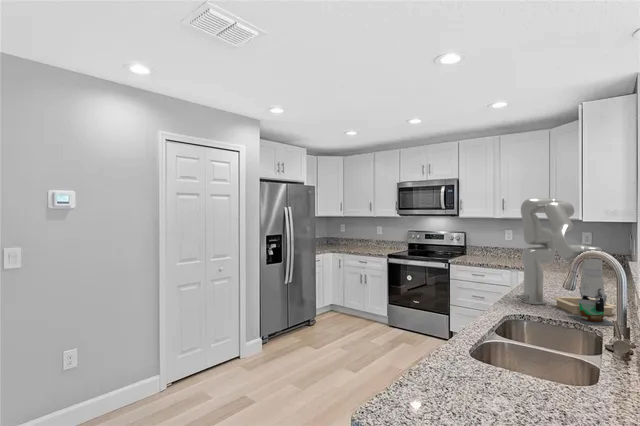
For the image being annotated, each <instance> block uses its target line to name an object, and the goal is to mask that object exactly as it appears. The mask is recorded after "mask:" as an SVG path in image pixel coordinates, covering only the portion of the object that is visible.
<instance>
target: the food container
mask: <svg viewBox="0 0 640 426" xmlns="http://www.w3.org/2000/svg"><path fill="white" fill-rule="evenodd" d="M578 303H579V307H580V315H579V316H581V320H585V321H590V322H603V319H604V316H605V315H604V312H597V311H596V303H597V302H596V300H592V299H589V300H584V299H579V300H578ZM606 303H607V302H606V301H605V303H604V305H606Z"/></svg>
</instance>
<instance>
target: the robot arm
mask: <svg viewBox="0 0 640 426" xmlns="http://www.w3.org/2000/svg"><path fill="white" fill-rule="evenodd" d="M520 205H521V206H520V215H521V218H522V228H523V229H522V231H523V240H524V242H525V243H526V244H527V245H530V246H531V245H532V246H533V247H527V248H524V249H523V250H522V253H521V259H522V264H523V292H522V293H521V294H514V297H515V299H520V301H521V302H522V303H525V304H528V305H529V304H530V305H538V306H541V305H546V304H547V301H546V300H545V299H544V270H543V268H542V267H541V264H543V265H545V264H551V263H553V262H554V261H555V259H556V252H557V254H558V255H559V257H560V258H562V259H563V260H565V261H575V260H574V259H575V258H576V257H577V256H578V255H580V254H581V253H583V252H586V251H591V250H595V251H601V252H602V253H603V249H602V248H601V247H599V246H589V245H585V244H569V243H568V241H567V239H566V233H568V232H569V231H571V230H572V229H573V228H574V224H573V222H572V221H571V218H570V217H572V216H573V215H574V213H575V208H574V206H573V204H572V203H570V202H568V201H565V200H561V199H557V198H550V197H531V198H527V199H525V200H524V201H523V202H522V203H521V204H520ZM537 213H538V214H545V215H546V217H547V219H548V221H549V222H550V224H551V226H552V229H554V233H553V232H552V231H551V230H550V229H549V228H545V227H544V228H543V227H541V221H540V218H539V216H538V215H537ZM534 245H535V246H534ZM536 245H537V246H536ZM581 263H582V266H581V267H582V273H581V277H580V283H579V285H580V286H579V287H578V290H579V293H580V297H581V298H582V299H584V300H589V298H594V299H595V300H596V302H597V303H596V311H597V312H604V303H605V302H606V301H607V298H608V294H606V293H605V289H604V288H605V287H604V286H605V285H604V279H603V259H602V260H599V259H588V260H585V261H584V262H581Z"/></svg>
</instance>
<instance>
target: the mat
mask: <svg viewBox="0 0 640 426" xmlns="http://www.w3.org/2000/svg"><path fill="white" fill-rule="evenodd" d="M567 317H568V318H571V319H572V318H573V320H574V319H575V320H574V321H577V322H579V323H581V322H582V323H581V324H583V323H584V325H585V324H586V326H602V327H603V326H608V327H609V326H612V327H613V323H614V322H613V321H610V320H607V319H605V318H603V322H590V321H585V320H581V316H580V315H567Z"/></svg>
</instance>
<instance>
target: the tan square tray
mask: <svg viewBox="0 0 640 426" xmlns="http://www.w3.org/2000/svg"><path fill="white" fill-rule="evenodd" d="M588 298H589V299H592V300H595V298H590V297H588ZM552 299H553V300H555V301H556V307H558V308H561V309H562V310H565V311H566V312H570V313H573V314H574V315H575V316H580V307H579V303H578V300H579V299H582V298H581V296H555V297H552ZM615 308H617V307H616V305H614V304H611V303H608V302H606V305H604V315H603V316H613V309H615Z"/></svg>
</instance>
